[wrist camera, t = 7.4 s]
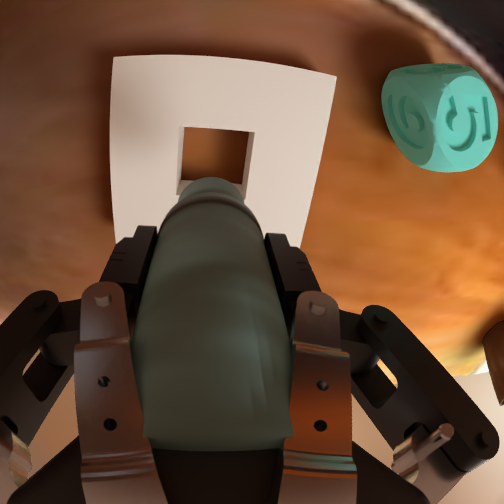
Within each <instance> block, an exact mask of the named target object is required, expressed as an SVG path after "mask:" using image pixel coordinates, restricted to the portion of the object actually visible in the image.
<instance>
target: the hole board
mask: <svg viewBox="0 0 504 504" xmlns="http://www.w3.org/2000/svg"><path fill="white" fill-rule="evenodd" d="M336 79H337V77H336V76H332V75H328V74H324V73H320V72H315V71H311V70H306V69H301V68H296V67H291V66H286V65H280V64H274V63H267V62H261V61H253V60H245V59H236V58H226V57H213V56H196V55H138V56H121V57H114V58H113V69H112V83H111V101H110V173H111V192H112V207H113V218H114V229H115V238H116V244H117V243H118V242H119V241H120V240H122V239H123V238H124V237H133V235H134V233H135V231H136V229H137V226H138V225H146V226H157V233H158V231H159V229H160V226H161V224H162V222H163V220H164V218H165V216H166V215H167V213H168V212H169V211H170V209H171V208H172V207H173V206H174V205H176V204H177V203H178V199H179V196H180V194H181V193H182V191H183V190H184V189H185V187H186V186H187V185H189V184H190V183H191V182H193V181H190V180H181V167H182V150H183V136H184V127H200V128H215V129H227V130H238V131H248V132H249V136H248V144H247V151H246V158H245V166H244V173H243V181H242V184H234V183H232V184H233V185H234V186H236V187H237V189H238V190H239V191H240V193H241V195H242V197H243V200H244V204H245V205H246V206H247V207H248V208H249V209H250V210H251V211H252V212H253V214H254V215H255V217H256V219H257V221H258V223H259V225H260V227H261V230H262V233H263V237H264V238H265V234H266V233H282V234H285V235H286V237H287V239H288V242H289V244H290V246H295V247H298V248H300V244H301V240H302V236H303V232H304V228H305V224H306V220H307V216H308V212H309V208H310V203H311V199H312V195H313V190H314V186H315V182H316V177H317V173H318V168H319V164H320V159H321V155H322V150H323V145H324V140H325V136H326V131H327V126H328V121H329V116H330V111H331V106H332V100H333V95H334V90H335V84H336Z"/></svg>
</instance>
